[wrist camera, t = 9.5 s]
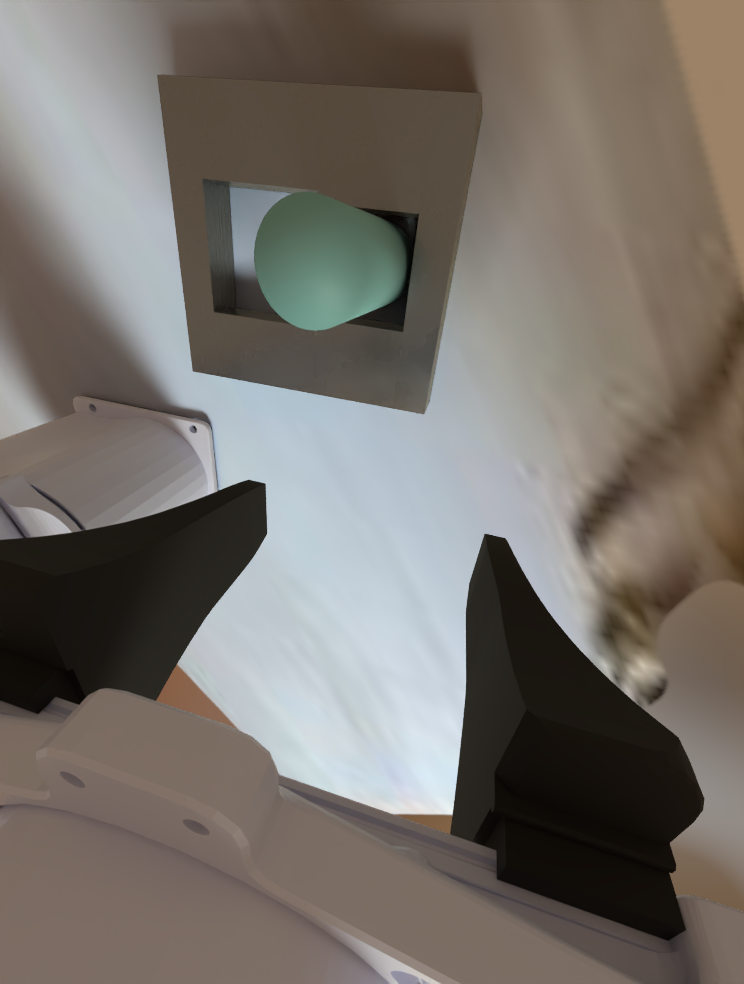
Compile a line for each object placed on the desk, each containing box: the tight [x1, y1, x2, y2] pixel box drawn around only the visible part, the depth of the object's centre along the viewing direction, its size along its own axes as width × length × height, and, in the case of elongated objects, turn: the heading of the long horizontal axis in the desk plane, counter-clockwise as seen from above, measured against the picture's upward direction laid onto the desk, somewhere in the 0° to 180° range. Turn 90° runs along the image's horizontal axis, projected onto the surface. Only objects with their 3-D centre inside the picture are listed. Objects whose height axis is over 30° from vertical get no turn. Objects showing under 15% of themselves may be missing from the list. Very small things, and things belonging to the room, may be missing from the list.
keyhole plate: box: [157, 75, 482, 414], centre depth 18 cm, size 12×11×2 cm
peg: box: [254, 192, 414, 331], centre depth 15 cm, size 3×3×8 cm
